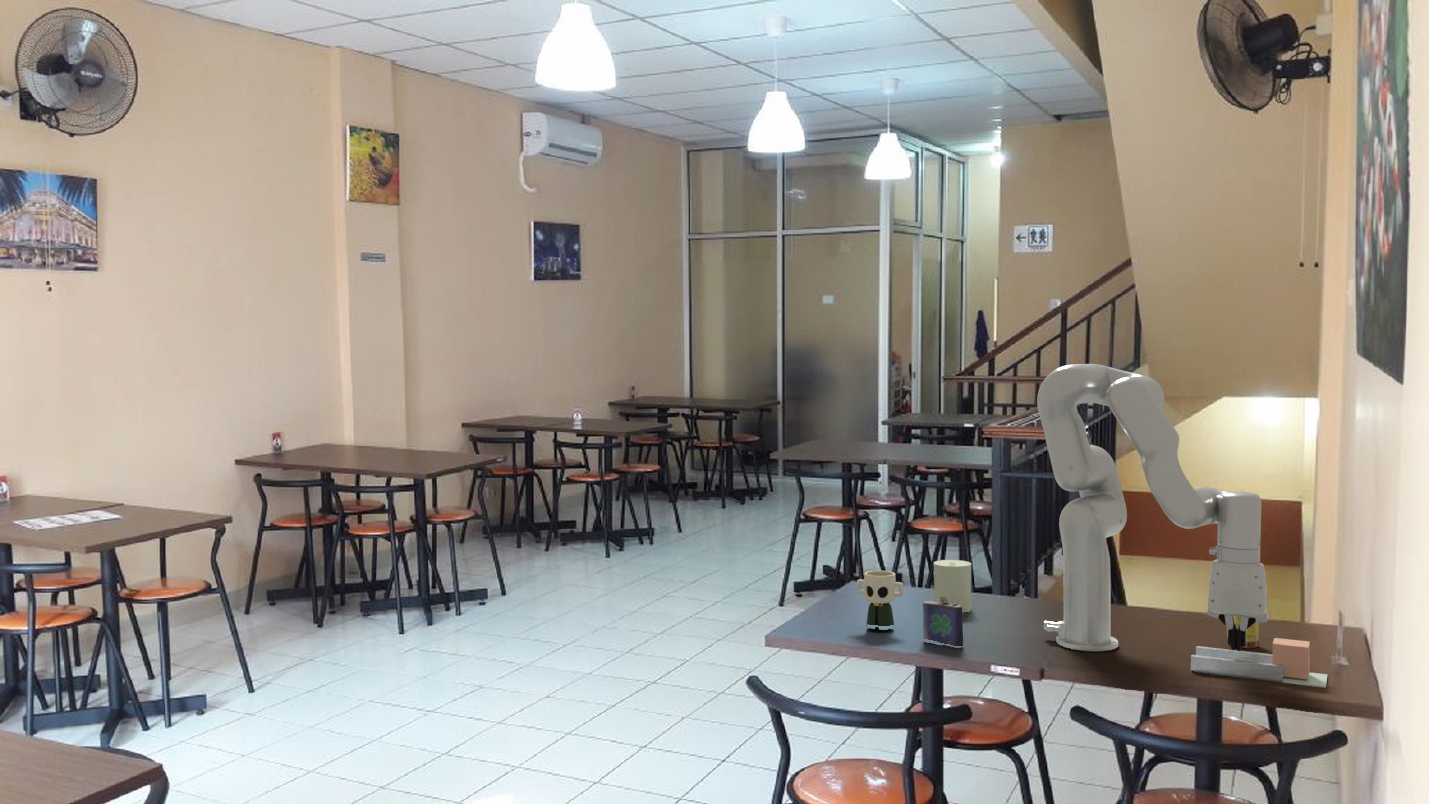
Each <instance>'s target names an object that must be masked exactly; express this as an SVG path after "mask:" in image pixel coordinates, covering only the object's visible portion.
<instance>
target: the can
mask: <svg viewBox="0 0 1429 804" xmlns="http://www.w3.org/2000/svg"><path fill="white" fill-rule="evenodd" d="M933 588H934V589H933V592H934V597H933V598H934V600H933V602H940V599H939V597H941V596H944V595H947V596H946V598H945V599H946V600H948V601H949V602H951V603H950V604H954V603H956V604H957V605H961V606H962V611H967V610H970V609H971V608H972V607H973V606H972V563H971V562H970V561H966V560H961V559H959V560H958V559H940V560H936V561H934V562H933ZM972 609H973V608H972Z"/></svg>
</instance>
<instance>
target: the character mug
mask: <svg viewBox="0 0 1429 804" xmlns="http://www.w3.org/2000/svg"><path fill="white" fill-rule="evenodd" d="M862 585H863V589H862ZM896 587H898V592H897V591H896V590H897V589H896ZM856 591H857V593H858V594H859V595H864V596H863V597H864V599H865V601H866V602H868V603H869V606H868V610H867V617H866V618H867V619H866V625H867V624H869V625H878V626H890V625H894V626H895V622H894V612H893V607H892V605H891V603H892V602H895V601H896V597H897V598H898V597H899V598H901V597H903V596H904V584H903V582H900V581H896V573H895V572H893V571H890V570H870V571H865V572H864V576H863V579H861V578H860V579H857V581H856Z"/></svg>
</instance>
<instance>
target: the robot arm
mask: <svg viewBox="0 0 1429 804" xmlns="http://www.w3.org/2000/svg"><path fill="white" fill-rule="evenodd" d="M1036 400H1037V401H1036V405H1037V411H1038V416H1039V419H1040V421H1041V426H1042V428H1043V432H1044V437H1045V442H1046V446H1047V451H1048V454H1049V459H1050V464H1051V467H1052V472H1053V476H1054V479H1055V481H1056V483H1057V484H1058V486H1059V487H1060V488H1061V489H1063V490H1064V491H1067V492H1071V493H1073V492H1079V493H1078V494H1079V497H1078V498H1075V499H1072V500H1071V501H1069V502H1068V503H1067V504H1066V505H1065V506H1064V507H1063V509H1062V510H1061V513H1060V515H1059V522H1058V525H1059V526H1058V527H1059V533H1060V539H1061V544H1062V545H1061V546H1062V547H1061V548H1062V561H1063V563H1062V564H1063V566H1062V568H1063V620H1062V621H1061V620H1060V621H1058V622H1055V621H1050V620H1044V621H1043V629H1044V631H1045V630H1046V632H1048V633H1057V634H1058V635H1057V636H1056V637H1055V639H1056V640H1055V641H1056V644H1057V645H1059V646H1060V647H1062V646H1063V648H1066V649H1069V648H1070V650H1074V651H1075V650H1076V651H1082V652H1107V651H1112V650H1115V649H1117V648H1118V647H1119V640H1118V639H1117V638H1115V637H1114V636H1111V632H1112V631H1111V623H1112V622H1111V621H1112V620H1111V617H1112V616H1111V599H1112V598H1111V593H1112V592H1111V589H1112V588H1111V557H1110V551H1109V546H1108V543H1107V538H1109V537H1113V536H1115V535H1117V534H1119V533H1120V532H1122V530H1123V529H1124V528H1125V525H1126V524H1127V520H1128V513H1127V512H1128V511H1127V505H1126V501H1125V497H1124V493H1123V489H1122V485H1121V482H1120V481H1121V480H1120V477H1119V474H1118V469H1117V465H1116V463H1115V461H1114V459H1113V458H1112V456H1111V455H1110V453H1108V451H1106V449H1104V448H1103V447H1100V446H1097V445H1095V444H1090V442H1089V438H1088V436H1087V429H1086V426H1085V423H1084V421H1083V419H1082V417H1081V415H1080V413H1079V412H1078V405H1080V404H1081V405H1082V404H1090V403H1091V404H1097V405H1101V406H1106V407H1109V409H1110V411H1111V413H1112V414H1113V416H1114V417H1115V418H1116V420H1117V422H1118V423H1119V425H1120V426H1121V429H1122V430H1123V431H1124V432H1125V434H1126V436H1127V437H1128V439H1129V440H1130V442H1131V444H1132V445H1133V446H1134V448H1135V451H1137V453H1138V454H1139V456H1140V461H1141V466H1142V467H1141V468H1142V470H1143V473H1144V477H1145V481H1146V483H1147V485H1148V488H1149V489H1150V492H1151V493H1152V495H1153V497H1154V498H1155V500H1156V502H1157V503H1158V505H1159V506H1160V508H1161V510H1162V511H1163V513H1164V514H1165V515H1166V516H1167V518H1168V519H1169V520H1170V521H1171V523H1173V524H1174V525H1176V526H1177V527H1180V528H1182V529H1186V530H1188V529H1189V530H1191V529H1196V528H1199V527H1202V526H1207V525H1212V524H1217V545H1216V546H1213V547H1212V546H1210V547H1209V549H1208V553H1209V555H1213V556H1215V557H1216V559H1215V560H1213V561H1212V563H1211V567H1210V572H1209V582H1208V592H1207V593H1208V594H1207V607H1208V608H1207V612H1206V615H1207V616H1208V617H1211V618H1214V619H1218V620H1219V621H1220V622H1221V623H1222V624H1223V625H1225V627H1226V630H1227V629H1228V637H1227V645H1230V646H1231V647H1230V650H1237V651H1242V649H1243V648H1242V646H1245V644H1246V629H1248V628H1249V627H1250V626H1252V625H1253V624H1254V623H1260V624H1261V623H1267V622H1268V621H1269V615H1268V613H1267V612H1268V611H1267V607H1268V590H1267V589H1268V588H1267V587H1268V586H1267V577H1266V576H1267V574H1266V569H1265V566H1264V563H1262V562H1261V530H1262V529H1261V527H1262V524H1261V523H1262V499H1261V497H1260V496H1259V494H1257V493H1255V492H1250V491H1243V490H1242V491H1240V490H1238V491H1237V490H1231V491H1229V490H1223V489H1219V488H1214V487H1210V486H1197V487H1194V486H1193V485H1192V484H1191V483H1190V481H1189V480H1188V478H1187V476H1186V475H1185V473H1184V470H1183V469H1182V467H1181V464H1180V462H1179V456H1178V450H1179V445H1180V434H1179V433H1178V431H1177V430H1176V428H1175V427H1174V425H1173V424H1172V422H1171V421H1170V420H1169V419H1168V417H1167V415H1166V413H1165V412H1164V411H1163V409H1162V406H1163V404H1164V400H1165V394H1164V390H1163V388H1162V386H1161V384H1160V383H1159V382H1158V381H1157V380H1155V379H1154V378H1152V377H1150V376H1147V375H1143V374H1139V373H1134V372H1131V371H1126V370H1122V369H1119V368H1114V367H1111V366H1106V365H1103V364H1095V363H1076V364H1075V363H1074V364H1066V365H1063V366H1060V367H1058V368H1055V369H1054V370H1053V371H1052V372H1051V371H1050V373H1049V374H1048V375H1047V376H1045V378H1044V379H1043V381H1042V382H1041V384H1040V386H1039V388H1038V393H1037V399H1036ZM1233 615H1236V616H1242V618H1241V623H1240V625H1239V627H1238V629H1237V628H1236V625H1235V623H1234V617H1233Z"/></svg>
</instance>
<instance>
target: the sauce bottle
mask: <svg viewBox="0 0 1429 804" xmlns="http://www.w3.org/2000/svg"><path fill="white" fill-rule="evenodd" d="M1233 617H1234V623H1235V625H1236V628H1237V629H1238V627H1239V625H1240V623H1241V618H1242V616H1236V615H1233ZM1260 634H1261V623H1254V624H1253V625H1252V626H1250V627H1249V628H1248V629H1246V644H1245V646H1242V649H1249V650H1250V649H1255V648H1258V647H1259V646H1260V639H1261V638H1260V636H1261V635H1260ZM1226 636H1227V638H1228V629H1227V628H1226Z"/></svg>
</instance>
